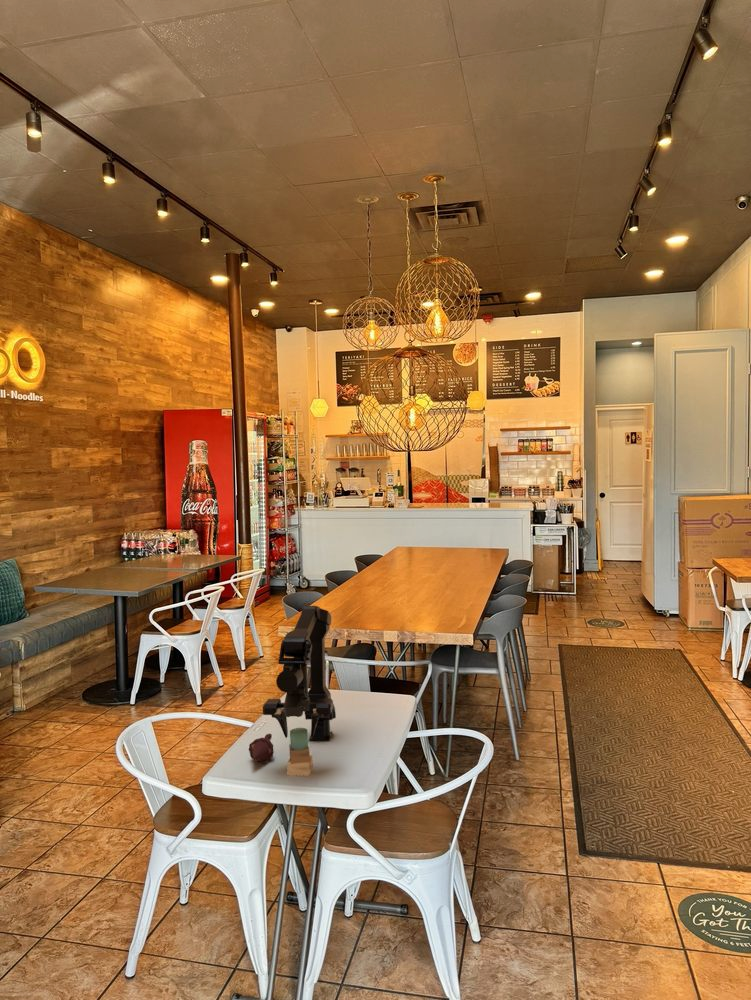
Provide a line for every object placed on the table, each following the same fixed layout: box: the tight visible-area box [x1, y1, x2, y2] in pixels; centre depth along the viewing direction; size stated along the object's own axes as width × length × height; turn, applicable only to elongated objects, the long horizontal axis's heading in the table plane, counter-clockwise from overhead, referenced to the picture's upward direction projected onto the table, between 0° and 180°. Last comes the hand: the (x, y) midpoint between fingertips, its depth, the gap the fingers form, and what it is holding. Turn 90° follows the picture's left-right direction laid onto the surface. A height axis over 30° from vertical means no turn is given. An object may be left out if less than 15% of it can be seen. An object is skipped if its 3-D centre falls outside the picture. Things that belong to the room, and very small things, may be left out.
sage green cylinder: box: [289, 727, 309, 750], centre depth 194 cm, size 5×5×4 cm
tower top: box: [288, 744, 310, 764], centre depth 194 cm, size 5×5×4 cm
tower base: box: [286, 754, 314, 777], centre depth 194 cm, size 6×6×4 cm
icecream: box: [248, 733, 274, 763], centre depth 201 cm, size 7×7×15 cm
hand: (299, 737), depth 193 cm, fingers open, 7 cm apart
